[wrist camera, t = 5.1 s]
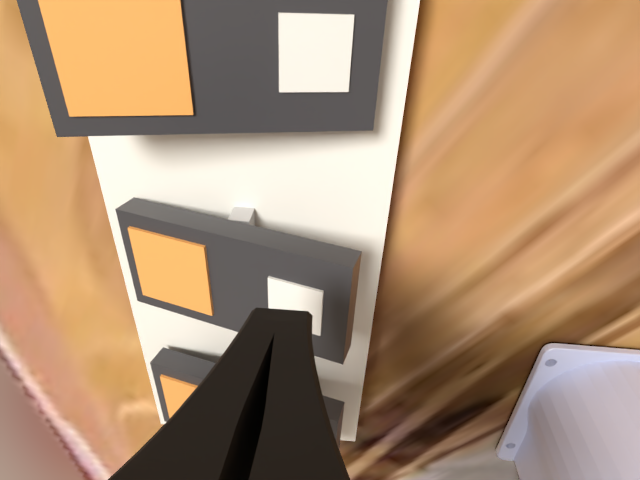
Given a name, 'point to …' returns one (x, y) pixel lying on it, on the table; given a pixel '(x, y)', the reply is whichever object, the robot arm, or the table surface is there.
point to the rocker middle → (239, 271)
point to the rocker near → (207, 65)
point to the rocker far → (188, 372)
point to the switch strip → (274, 204)
